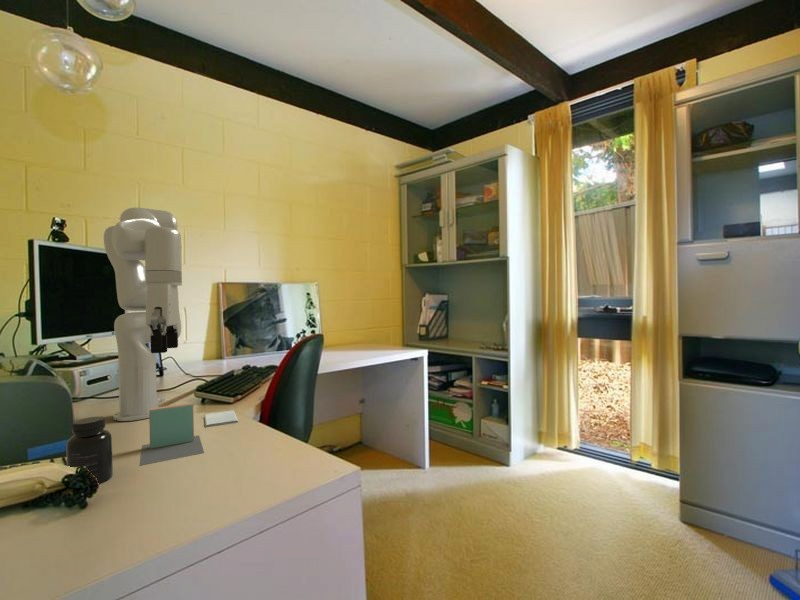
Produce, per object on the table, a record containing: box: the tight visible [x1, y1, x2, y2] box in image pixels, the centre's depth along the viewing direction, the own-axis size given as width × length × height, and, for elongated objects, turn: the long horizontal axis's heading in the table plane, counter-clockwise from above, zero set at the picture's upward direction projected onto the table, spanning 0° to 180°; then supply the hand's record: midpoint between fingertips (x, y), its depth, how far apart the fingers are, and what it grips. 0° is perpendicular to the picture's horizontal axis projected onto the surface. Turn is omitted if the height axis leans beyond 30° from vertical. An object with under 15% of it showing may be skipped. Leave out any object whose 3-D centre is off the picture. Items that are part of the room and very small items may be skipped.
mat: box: [139, 434, 205, 467], centre depth 90 cm, size 14×12×1 cm
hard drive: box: [203, 409, 239, 428], centre depth 113 cm, size 2×8×12 cm
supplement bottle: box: [65, 416, 114, 485], centre depth 74 cm, size 7×7×12 cm
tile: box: [148, 402, 195, 449], centre depth 93 cm, size 2×9×9 cm, turn 121°
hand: (165, 350), depth 94 cm, fingers open, 9 cm apart
